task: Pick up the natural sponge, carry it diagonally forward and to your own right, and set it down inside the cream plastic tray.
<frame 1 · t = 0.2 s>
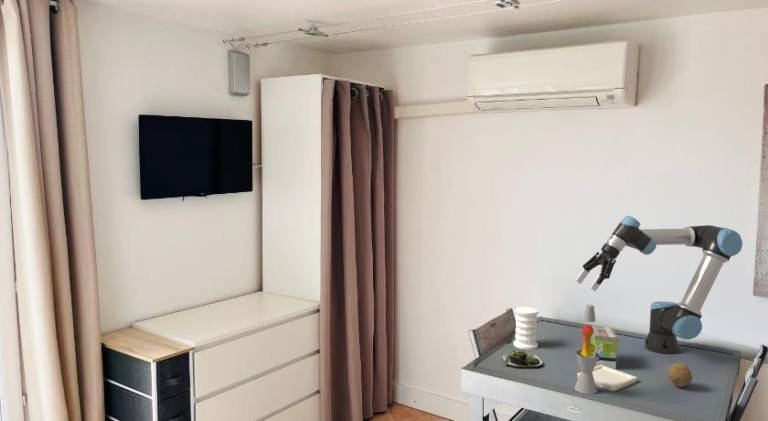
hand: (585, 285, 262), 36 cm above the table, tool tilted 35°, fingers open, 13 cm apart
lava lamp: (585, 390, 237), on the table
natural sponge: (678, 386, 241), on the table
tray: (606, 379, 248), on the table
salad plate: (521, 363, 267), on the table
decorative container: (525, 345, 289), on the table
tea box: (601, 362, 267), on the table
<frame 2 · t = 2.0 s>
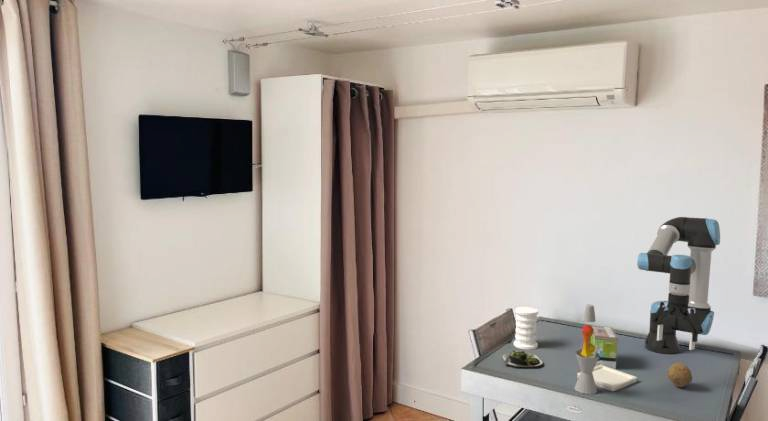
hand: (675, 344, 240), 18 cm above the table, tool pointing down, fingers open, 13 cm apart
nothing on the table moved.
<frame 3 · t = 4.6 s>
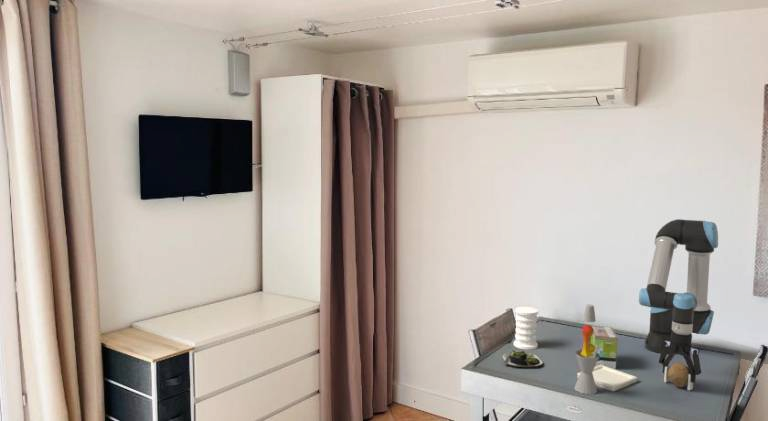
hand: (678, 385, 241), 0 cm above the table, tool pointing down, fingers closed on natural sponge, 9 cm apart
natural sponge: (678, 387, 241), on the table, touching gripper
everything else where it was.
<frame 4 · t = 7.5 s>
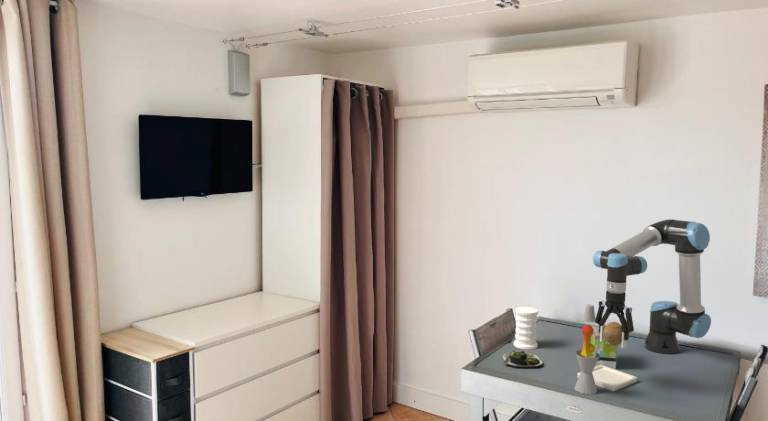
hand: (612, 344, 245), 16 cm above the table, tool pointing down, fingers closed on natural sponge, 9 cm apart
natural sponge: (613, 345, 245), point 15 cm above the table, touching gripper
everything else where it was.
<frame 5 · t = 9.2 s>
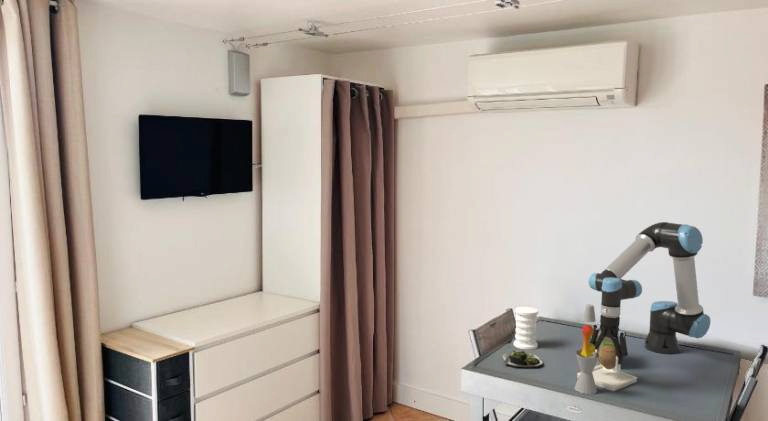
hand: (607, 367, 247), 5 cm above the table, tool pointing down, fingers closed on natural sponge, 9 cm apart
natural sponge: (607, 369, 247), point 5 cm above the table, touching gripper
everything else where it was.
when the fingers open (3 cm above the table, at t = 10.5 s): natural sponge drops 1 cm, resting on tray.
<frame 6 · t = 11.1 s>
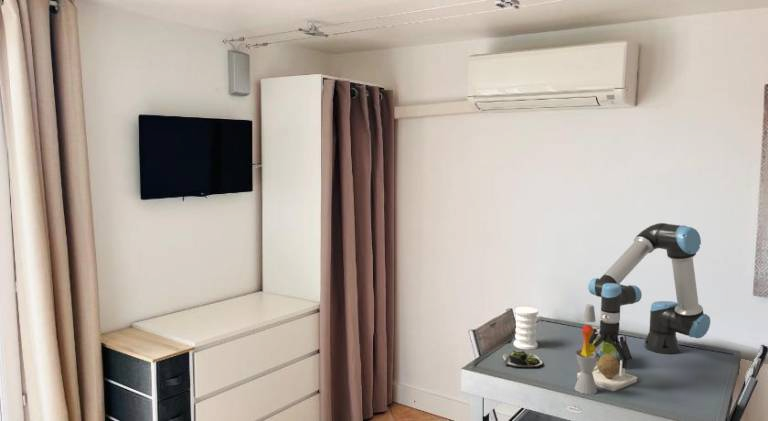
hand: (607, 370, 247), 4 cm above the table, tool pointing down, fingers open, 13 cm apart
natural sponge: (607, 377, 247), point 1 cm above the table, touching tray
everything else where it was.
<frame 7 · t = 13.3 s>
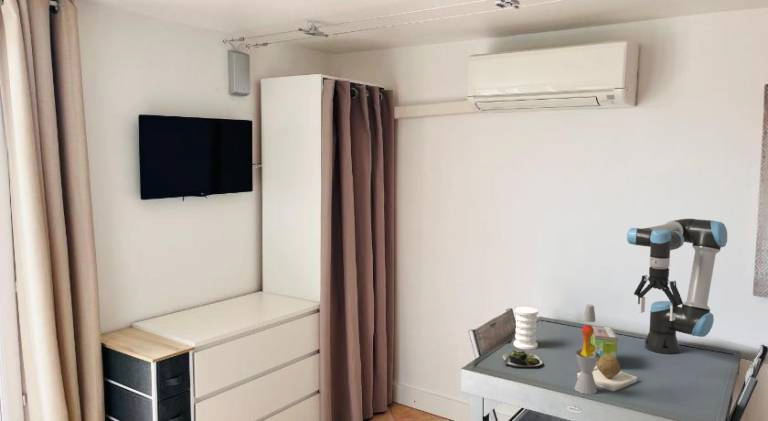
hand: (656, 316, 248), 26 cm above the table, tool pointing down, fingers open, 13 cm apart
nothing on the table moved.
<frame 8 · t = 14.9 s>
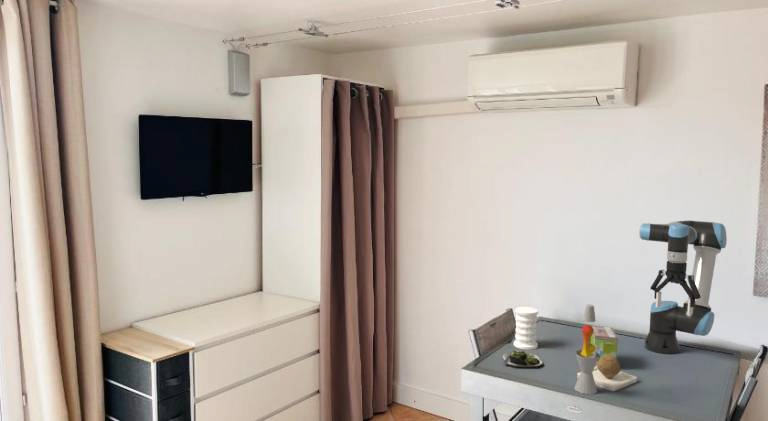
hand: (673, 310, 249), 29 cm above the table, tool pointing down, fingers open, 13 cm apart
nothing on the table moved.
at the end: natural sponge inside the target area on the tray (0.2 cm from its centre), point 1.0 cm above the tray's base; the gripper is holding nothing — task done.
